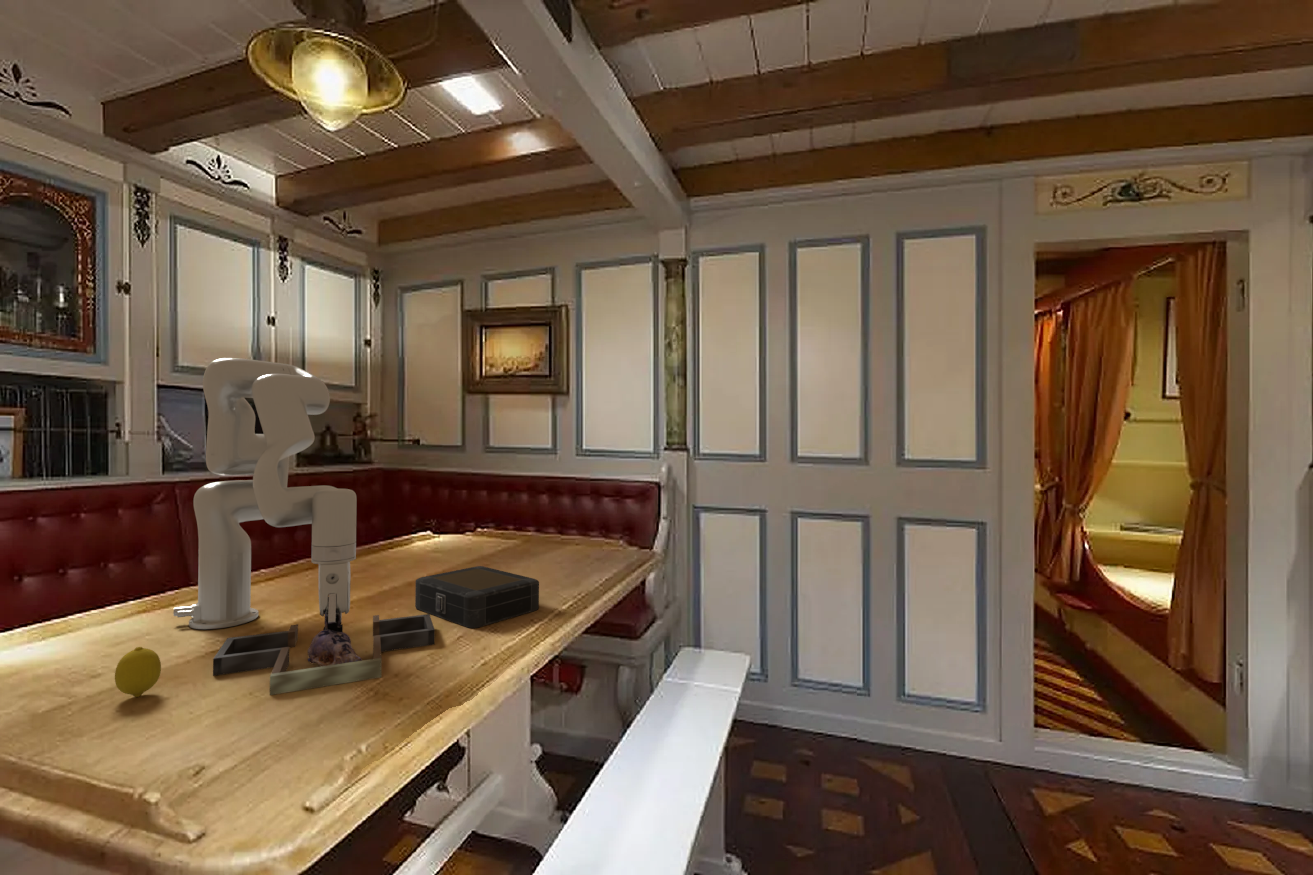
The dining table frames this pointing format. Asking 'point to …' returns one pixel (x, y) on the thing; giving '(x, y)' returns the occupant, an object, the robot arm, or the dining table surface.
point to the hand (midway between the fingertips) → (332, 647)
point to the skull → (331, 649)
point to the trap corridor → (275, 653)
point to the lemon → (137, 671)
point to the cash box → (476, 596)
